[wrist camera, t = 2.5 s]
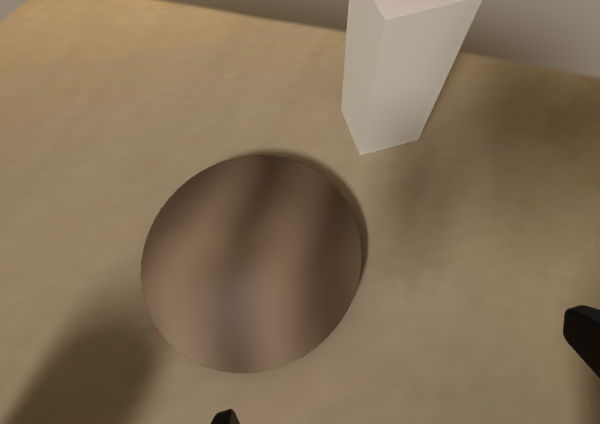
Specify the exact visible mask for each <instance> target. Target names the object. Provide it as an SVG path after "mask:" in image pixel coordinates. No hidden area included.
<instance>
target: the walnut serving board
mask: <svg viewBox="0 0 600 424" xmlns="http://www.w3.org/2000/svg"><path fill="white" fill-rule="evenodd" d="M361 262H362V248H361V239H360V234H359V230H358V226H357V222H356V220H355V217H354V215H353V212H352V210H351V209H350V207H349V205H348V203H347V201H346V200H345V198H344V197H343V196H342V194H341V193H340V192H339V190H338V189H337V188H336V187H335V186H334V185H333V184H332V183H331V182H330V181H329V180H328V179H326V178H325V177H324V176H322V175H321V174H320V173H318V172H317V171H315V170H313V169H312V168H310V167H308V166H306V165H304V164H301V163H299V162H297V161H293V160H290V159H286V158H282V157H276V156H264V155H256V156H245V157H239V158H234V159H230V160H227V161H223V162H221V163H218V164H216V165H213V166H211V167H209V168H207V169H205V170H203V171H202V172H200V173H198V174H197V175H195V176H194V177H192V178H191V179H189V180H188V181H187V182H186V183H184V184H183V185H182V186H181V187H180V188H179V189H178V190H177V191H176V192H175V193H174V194H173V195H172V196H171V197H170V198H169V199H168V201H167V202H166V203H165V204H164V206H163V207H162V208H161V210H160V212H159V213H158V215H157V217H156V218H155V220H154V222H153V224H152V226H151V229H150V231H149V233H148V236H147V239H146V242H145V246H144V250H143V256H142V262H141V282H142V291H143V295H144V300H145V304H146V306H147V309H148V312H149V314H150V317H151V318H152V320H153V322H154V324H155V326H156V327H157V329H158V330H159V332H160V333H161V334H162V336H163V337H164V338H165V339H166V341H167V342H168V343H170V344H171V345H172V346H173V347H174V348H175V349H176V350H177V351H178V352H180V353H181V354H183V355H184V356H186V357H187V358H189V359H190V360H192V361H194V362H196V363H198V364H201V365H203V366H205V367H208V368H212V369H215V370H219V371H225V372H232V373H254V372H260V371H266V370H271V369H274V368H277V367H280V366H283V365H286V364H288V363H290V362H292V361H294V360H296V359H299V358H301V357H303V356H304V355H306V354H307V353H308V352H310V351H311V350H313V349H314V348H316V347H317V346H318V345H319V344H320V343H321V342H323V341H324V340H325V339H326V338H327V337H328V336H329V335H330V334H331V332H332V331H333V330H334V329H335V328H336V327H337V325H338V324H339V323H340V321H341V319H342V318H343V316H344V315H345V313H346V312H347V310H348V308H349V306H350V304H351V302H352V299H353V297H354V295H355V292H356V288H357V285H358V282H359V277H360V271H361Z"/></svg>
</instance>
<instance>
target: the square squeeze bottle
mask: <svg viewBox="0 0 600 424" xmlns="http://www.w3.org/2000/svg"><path fill="white" fill-rule="evenodd" d="M481 1H482V0H349V8H348V23H347V36H346V50H345V64H344V78H343V92H342V106H341V110H342V112H343V115H344V117H345V120H346V122H347V125H348V127H349V130H350V132H351V135H352V137H353V140H354V142H355V145H356V147H357V150H358V152H359V155H364V154H367V153H371V152H375V151H379V150H383V149H386V148H390V147H394V146H398V145H402V144H406V143H409V142H413V141H417V140H419V137H420V135H421V133H422V131H423V129H424V126H425V124H426V122H427V120H428V118H429V116H430V113H431V111H432V109H433V107H434V105H435V102H436V100H437V98H438V96H439V94H440V91H441V89H442V87H443V85H444V83H445V80H446V78H447V76H448V74H449V72H450V69H451V67H452V65H453V63H454V61H455V58H456V56H457V54H458V52H459V50H460V47H461V45H462V43H463V41H464V39H465V36H466V34H467V32H468V30H469V27H470V25H471V23H472V21H473V19H474V17H475V14H476V12H477V10H478V8H479V6H480V3H481Z"/></svg>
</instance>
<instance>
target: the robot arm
mask: <svg viewBox="0 0 600 424" xmlns="http://www.w3.org/2000/svg"><path fill="white" fill-rule="evenodd" d="M563 335H564V337H565V339H566V341H567V342H568V343H569V345H570V346H571V347H572V348H573V349H574V350H575V351H576V352H577V353H578V355H579V356H580V357H581V358H582V359H583V360H584V361H585V362H586V364H587V365H588V366H589V367H590V368H591V369H592V370H593V371H594V372H595V374H596V375H597V376H598V377H599V378H600V310H598V309H595V308H592V307H588V306H584V305H580V306H576V307H572V308H569V309H567V310H566V311H565V315H564V326H563ZM211 424H240V423H239V421H238V418H237V416H236V414H235V412H234V411H233V410H232V409H228V410H225V411H222V412H219V413H217V414H216V415H215V416H214V418H213V420H212V422H211Z"/></svg>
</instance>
